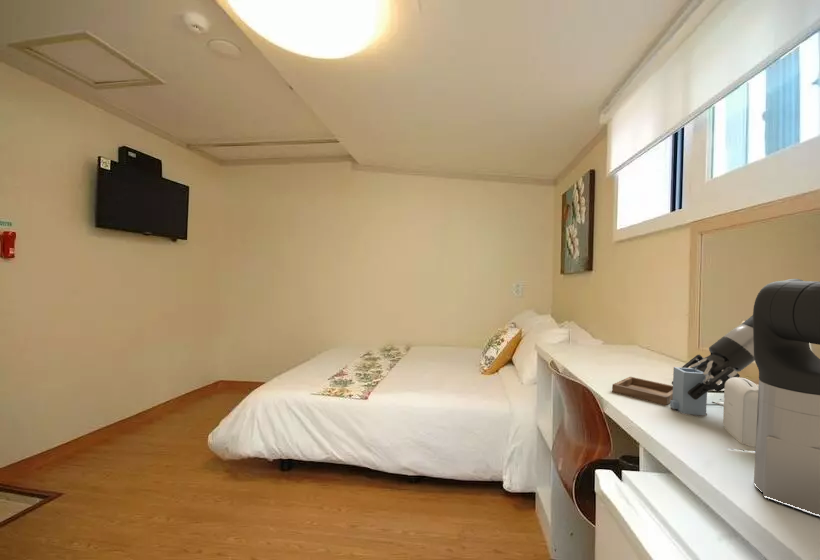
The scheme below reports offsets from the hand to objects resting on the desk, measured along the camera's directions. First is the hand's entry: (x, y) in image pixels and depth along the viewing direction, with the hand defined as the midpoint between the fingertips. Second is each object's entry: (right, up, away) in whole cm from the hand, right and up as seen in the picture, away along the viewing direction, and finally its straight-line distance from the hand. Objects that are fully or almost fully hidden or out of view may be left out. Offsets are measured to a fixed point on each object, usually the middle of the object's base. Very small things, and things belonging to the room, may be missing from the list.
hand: (682, 391), depth 90 cm
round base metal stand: (+1, -5, 0) cm, 5 cm away
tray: (-1, -5, +12) cm, 13 cm away
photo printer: (+2, -6, -14) cm, 15 cm away
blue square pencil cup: (+1, -5, 0) cm, 5 cm away
